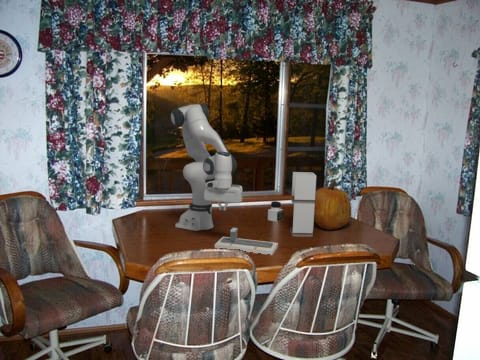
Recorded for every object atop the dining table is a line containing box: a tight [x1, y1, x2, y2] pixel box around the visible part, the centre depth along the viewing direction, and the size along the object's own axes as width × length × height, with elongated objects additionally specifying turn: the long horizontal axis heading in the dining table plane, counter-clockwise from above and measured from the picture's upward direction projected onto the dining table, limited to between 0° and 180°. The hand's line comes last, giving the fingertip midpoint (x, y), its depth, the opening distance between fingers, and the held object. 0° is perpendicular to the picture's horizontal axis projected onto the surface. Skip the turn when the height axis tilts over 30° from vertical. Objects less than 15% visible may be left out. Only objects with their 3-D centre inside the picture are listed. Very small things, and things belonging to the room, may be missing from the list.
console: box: [214, 236, 279, 256], centre depth 231 cm, size 30×14×3 cm, turn 74°
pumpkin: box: [314, 178, 352, 231], centre depth 271 cm, size 26×23×30 cm
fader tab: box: [229, 227, 239, 242], centre depth 233 cm, size 4×5×7 cm
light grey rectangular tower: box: [289, 171, 317, 238], centre depth 256 cm, size 11×11×35 cm
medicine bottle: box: [267, 200, 284, 223], centre depth 286 cm, size 7×7×12 cm
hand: (222, 210), depth 232 cm, fingers closed
